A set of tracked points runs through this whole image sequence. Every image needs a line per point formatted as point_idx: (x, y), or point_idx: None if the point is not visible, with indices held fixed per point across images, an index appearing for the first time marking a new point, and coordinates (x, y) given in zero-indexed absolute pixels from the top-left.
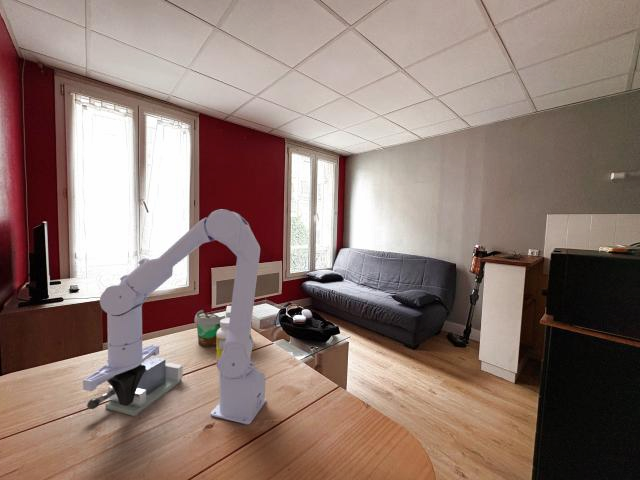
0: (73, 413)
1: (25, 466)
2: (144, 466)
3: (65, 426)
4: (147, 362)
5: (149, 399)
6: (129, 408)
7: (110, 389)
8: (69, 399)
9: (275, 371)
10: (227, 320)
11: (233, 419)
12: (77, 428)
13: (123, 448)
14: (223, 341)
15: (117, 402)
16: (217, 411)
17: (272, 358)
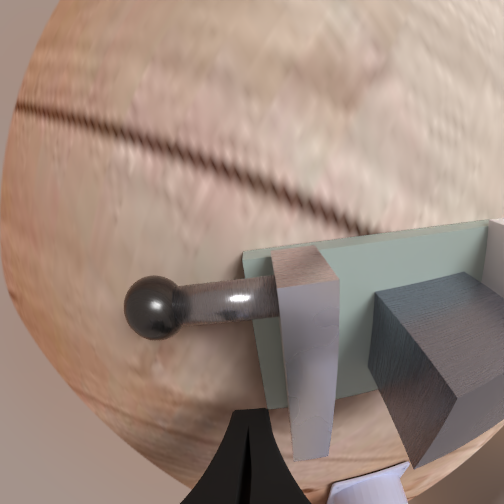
0: (146, 142)
1: (24, 306)
2: (187, 479)
3: (97, 219)
4: (502, 391)
5: (343, 394)
6: (273, 384)
7: (276, 295)
8: (202, 5)
9: (471, 443)
10: None
11: (328, 501)
12: (118, 279)
13: (180, 445)
14: None
15: None
16: (342, 487)
17: None
